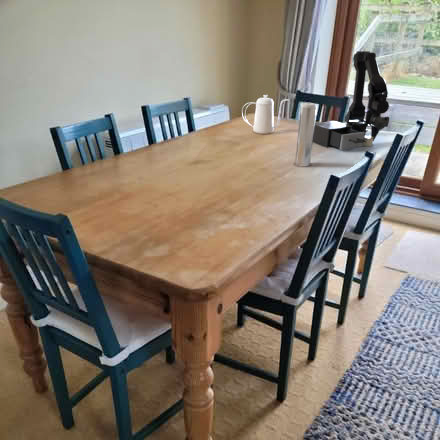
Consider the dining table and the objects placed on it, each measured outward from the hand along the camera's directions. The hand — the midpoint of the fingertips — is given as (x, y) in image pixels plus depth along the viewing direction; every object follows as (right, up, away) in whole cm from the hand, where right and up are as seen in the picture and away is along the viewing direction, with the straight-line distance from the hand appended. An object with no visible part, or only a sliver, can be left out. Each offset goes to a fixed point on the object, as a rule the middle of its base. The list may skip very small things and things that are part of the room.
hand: (367, 142), depth 227 cm
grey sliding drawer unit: (-18, +1, +4) cm, 18 cm away
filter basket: (0, -1, +1) cm, 1 cm away
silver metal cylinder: (-37, -19, -28) cm, 50 cm away
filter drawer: (-12, -4, -6) cm, 14 cm away
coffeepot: (-49, +12, +21) cm, 55 cm away
